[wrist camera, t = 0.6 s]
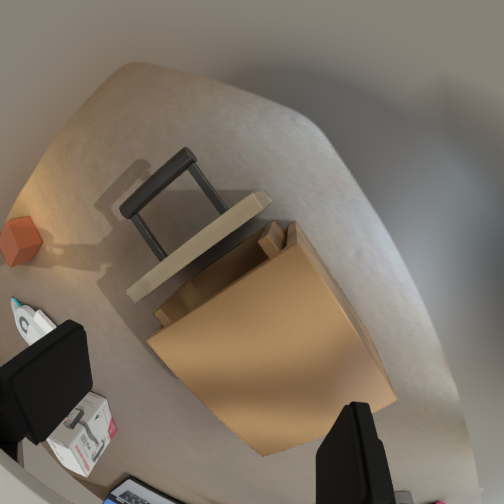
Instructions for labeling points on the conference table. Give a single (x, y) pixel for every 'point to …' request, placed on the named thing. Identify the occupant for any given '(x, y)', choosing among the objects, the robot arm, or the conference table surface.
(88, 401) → the ink box
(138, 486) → the laptop
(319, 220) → the conference table surface
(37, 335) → the toy rocket
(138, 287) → the drawer
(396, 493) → the coffee mug
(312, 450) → the conference table surface
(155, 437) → the conference table surface
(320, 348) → the cabinet
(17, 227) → the block
